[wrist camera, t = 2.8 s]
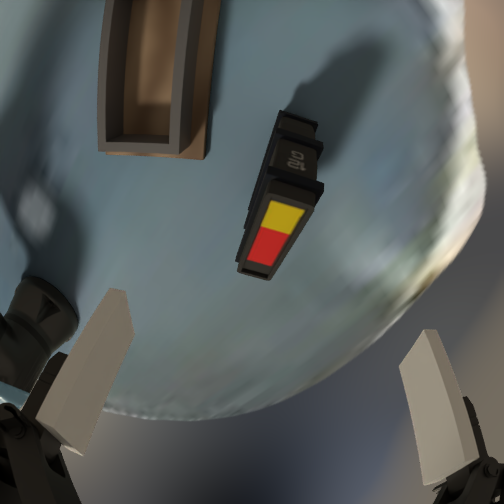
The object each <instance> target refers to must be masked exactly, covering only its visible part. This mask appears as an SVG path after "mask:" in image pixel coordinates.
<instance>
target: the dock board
mask: <svg viewBox="0 0 504 504" xmlns="http://www.w3.org/2000/svg"><path fill="white" fill-rule="evenodd" d="M220 5H221V0H204V5H203V12H202V20H201V27H200V35H199V44H198V53H197V62H196V72H195V83H194V95H193V108H192V123H191V140H190V146H189V147H188V148H187V149H185V150H184V151H183V152H182V153H180V154H179V155H175V154H159V153H139V152H106V155H136V156H156V157H171V158H185V159H196V160H204V159H205V153H206V138H207V125H208V112H209V101H210V90H211V80H212V70H213V60H214V52H215V43H216V35H217V27H218V19H219V12H220ZM180 7H181V0H133V3H132V10H131V17H130V25H129V33H128V43H127V54H126V67H125V84H124V118H123V134H147V135H169V132H170V110H171V93H172V80H173V68H174V57H175V47H176V38H177V29H178V21H179V14H180Z"/></svg>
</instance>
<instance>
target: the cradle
mask: <svg viewBox="0 0 504 504" xmlns="http://www.w3.org/2000/svg"><path fill="white" fill-rule="evenodd" d="M132 3H133V0H106V3H105V9H104V16H103V24H102V33H101V42H100V54H99V69H98V94H97V129H98V151H101V152H139V153H159V154H175V155H179V154H180V153H182V152H183V151H184V150H185V149H187V148H188V147H189V146H190V140H191V123H192V108H193V95H194V83H195V72H196V62H197V53H198V44H199V35H200V27H201V20H202V12H203V5H204V0H181V7H180V14H179V21H178V29H177V38H176V47H175V57H174V68H173V80H172V93H171V110H170V132H169V135H147V134H123V118H124V84H125V67H126V54H127V43H128V33H129V25H130V17H131V10H132Z"/></svg>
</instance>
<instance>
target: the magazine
mask: <svg viewBox="0 0 504 504" xmlns="http://www.w3.org/2000/svg"><path fill="white" fill-rule="evenodd" d="M317 127H318V123H317V122H315V121H312V120H309V119H307V118H304V117H301V116H298V115H295V114H291V113H288V112H285V111H282V110H279V113H278V116H277V119H276V122H275V125H274V128H273V131H272V134H271V138H270V141H269V144H268V147H267V150H266V153H265V156H264V159H263V163H262V166H261V169H260V172H259V175H258V178H257V182H256V185H255V188H254V191H253V194H252V198H251V201H250V204H249V207H248V210H249V212H248V215H247V218H246V221H245V224H244V229H245V232H244V235H243V238H242V241H241V244H240V247H239V250H238V252H237V256H236V259H235V262H239V264H238V269H237V272H239V273H241V274H245V275H248V276H252V277H256V278H259V279H263V280H268V281H269V280H271V279H272V277H273V276H274V274H275V273H276V271H277V269H278V268H279V266H280V265H281V263H282V262H283V260H284V258H285V257H286V255H287V254H288V252H289V250H290V249H291V247H292V246H293V244H294V242H295V241H296V239H297V238H298V236H299V234H300V233H301V231H302V230H303V228H304V226H305V225H306V223H307V221H308V220H309V218H310V217H311V215H312V213H313V212H314V207H315V206H316V204H317V202H318V201H319V199H320V197H321V196H322V194H323V192H324V183H322V182H319V181H316V179H317V161H318V159H319V157H320V155H321V153H322V151H323V142H320V141H317V140H315V132H316V129H317Z"/></svg>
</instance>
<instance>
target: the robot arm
mask: <svg viewBox="0 0 504 504" xmlns="http://www.w3.org/2000/svg"><path fill="white" fill-rule="evenodd" d="M77 328H78V320H77V317H76V314H75V312H74V310H73V308H72V307H71V305H70V304H69V302H68V301H67V300H66V298H65V297H64V296H63V295H62V294H61V293H60V292H59V291H58V290H57V289H56V288H54V287H53V286H52V285H51V284H49V283H48V282H46V281H44V280H42V279H40V278H37V277H33V276H29V277H26V278H24V279H23V280H22V281H21V282H20V284H19V285H18V286H17V288H16V290H15V295H14V297H13V299H12V301H11V304H10V306H9V309H8V311H7V313H6V314H5V316H4V317H3V316H2V314H1V313H0V504H82V503H81V501H80V499H79V497H78V495H77V492H76V490H75V488H74V485H73V483H72V480H71V478H70V475H69V473H68V470H67V467H66V465H65V462H64V459H63V456H62V453H61V451H60V446H61V444H62V445H63V446H65V447H66V448H67V449H69V450H71V451H73V452H75V453H77V454H80V455H82V456H84V454H85V452H86V449H87V446H88V443H89V441H90V438H91V436H92V433H93V430H94V428H95V425H96V423H97V420H98V418H99V415H100V413H101V410H102V408H103V406H104V403H105V401H106V398H107V396H108V394H109V391H110V389H111V386H112V384H113V382H114V379H115V377H116V375H117V373H118V370H119V368H120V366H121V364H122V361H123V359H124V357H125V355H126V353H127V350H128V348H129V346H130V344H131V342H132V340H133V337H134V335H135V333H134V329H133V324H132V320H131V315H130V311H129V306H128V301H127V296H126V291H122V290H118V289H113V288H110V289H109V290H108V292H107V293H106V295H105V296H104V298H103V299H102V301H101V302H100V304H99V306H98V307H97V309H96V310H95V312H94V313H93V315H92V317H91V318H90V320H89V321H88V323H87V325H86V326H85V328H84V330H83V331H82V333H81V335H80V336H79V338H78V340H77V341H76V343H75V345H74V346H73V348H72V350H71V352H70V353H69V355H67V354H64V353H61V352H58V353H57V354H55V355H54V356H53V357H52V358H51V359H49V358H50V356H51V354H52V353H53V352H54V351H56V350H57V349H58V348H59V347H60V346H61V345H62V344H64V343H65V342H67V341H69V340H70V339H71V338H72V337H73V335H74V333H75V332H76V330H77ZM48 359H49V361H48ZM47 361H48V363H47ZM46 363H47V364H46ZM45 365H46V366H45ZM44 366H45V368H44ZM43 368H44V370H43ZM399 369H400V372H401V376H402V380H403V384H404V388H405V392H406V396H407V400H408V404H409V409H410V413H411V418H412V422H413V427H414V432H415V437H416V442H417V448H418V453H419V459H420V465H421V472H422V479H423V485H428V484H432V483H436V482H438V481H440V480H442V479H444V478H446V479H447V481H446V482H444V483H442V484H440V485H438V486H437V487H435V488H434V489H433V492H435V491H437V490H439V489H441V490H440V491H438V492H437V493H436V494H438V495H437V497H436V499H435V501H434V503H433V504H504V464H501V463H498V462H497V460H496V459H495V458H493V457H489V456H488V454H487V451H486V447H485V443H484V439H483V436H482V432H481V429H480V426H479V425H478V424H479V422H478V419H477V418H476V412H475V410H474V406H473V404H472V403H471V402H470V400H469V399H468V397H467V396H466V397H462V395H461V392H460V389H459V386H458V383H457V380H456V377H455V375H454V372H453V369H452V367H451V365H450V362H449V359H448V357H447V354H446V352H445V349H444V347H443V344H442V342H441V340H440V337H439V335H438V332H437V330H428V329H424V330H423V331H422V333H421V335H420V336H419V338H418V339H417V341H416V342H415V344H414V345H413V347H412V348H411V350H410V351H409V353H408V354H407V355H406V357H405V359H404V360H403V361H402V363H401V364H400V365H399ZM42 370H43V372H42ZM41 372H42V373H41ZM40 374H41V375H40ZM39 375H40V377H39ZM38 377H39V380H37V379H38ZM36 381H37V382H36ZM35 383H36V384H35ZM34 385H35V386H34ZM33 387H34V388H33ZM32 388H33V389H32ZM31 390H32V391H31ZM30 392H31V393H30ZM28 396H29V397H28ZM27 398H28V399H27ZM26 399H27V401H26ZM25 401H26V403H25ZM24 403H25V405H24V407H23V409H22V410H21V411H20V410H19V409H20V408H21V407H22V406H23V404H24ZM499 495H500V500H499V501H498V502H495V497H497V496H499Z"/></svg>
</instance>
